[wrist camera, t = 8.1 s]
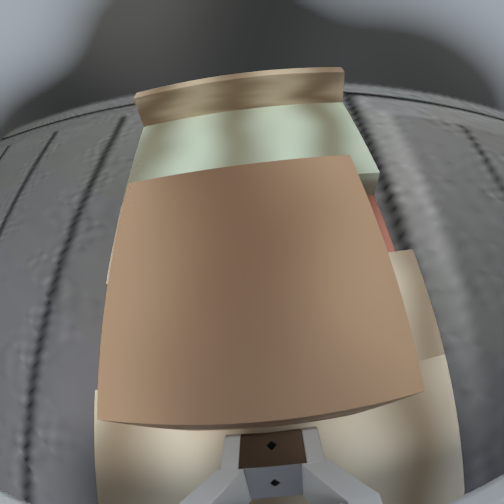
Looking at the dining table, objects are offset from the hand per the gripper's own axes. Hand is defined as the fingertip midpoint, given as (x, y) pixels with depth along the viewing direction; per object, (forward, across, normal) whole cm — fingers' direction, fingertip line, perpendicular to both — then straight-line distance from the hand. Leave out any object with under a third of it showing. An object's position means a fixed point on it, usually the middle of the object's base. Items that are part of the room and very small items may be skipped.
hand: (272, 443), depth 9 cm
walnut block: (+5, 0, -1) cm, 5 cm away
